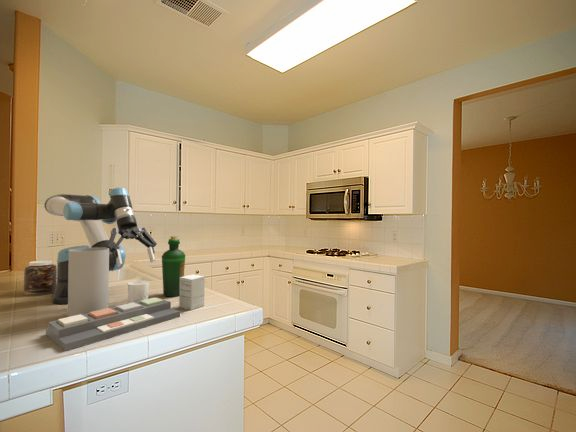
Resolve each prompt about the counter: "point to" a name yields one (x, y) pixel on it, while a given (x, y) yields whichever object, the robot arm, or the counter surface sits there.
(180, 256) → the bottle
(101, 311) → the key terracotta
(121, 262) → the robot arm
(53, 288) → the jar
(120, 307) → the key grey
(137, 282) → the white cup
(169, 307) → the key pad
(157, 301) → the key sage
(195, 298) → the supplement box
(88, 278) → the cylinder vase
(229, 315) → the counter surface
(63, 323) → the key white
